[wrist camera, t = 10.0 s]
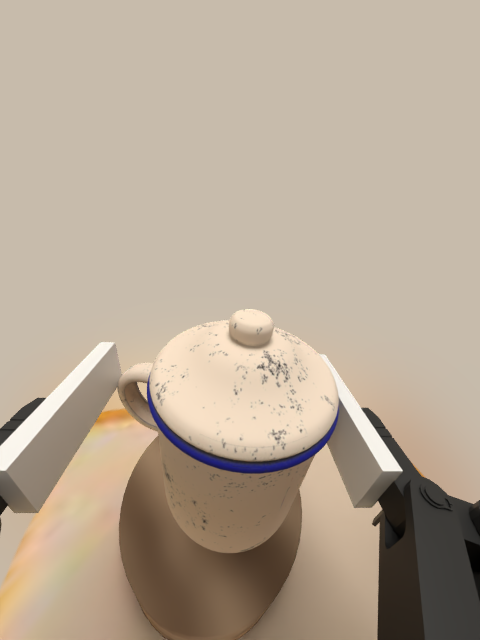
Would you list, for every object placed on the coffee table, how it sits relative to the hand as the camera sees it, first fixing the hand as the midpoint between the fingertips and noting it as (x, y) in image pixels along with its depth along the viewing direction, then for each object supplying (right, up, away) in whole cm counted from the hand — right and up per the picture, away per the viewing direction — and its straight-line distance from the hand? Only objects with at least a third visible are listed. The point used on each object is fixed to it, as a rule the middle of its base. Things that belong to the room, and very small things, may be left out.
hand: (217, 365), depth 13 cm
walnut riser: (-2, -18, +9) cm, 20 cm away
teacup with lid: (-1, -7, +2) cm, 7 cm away
